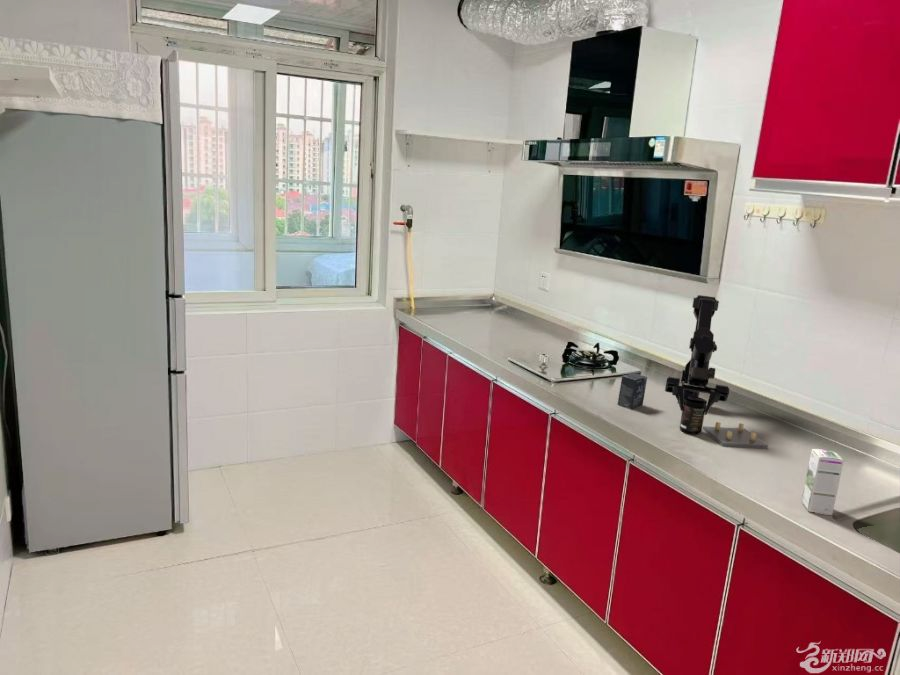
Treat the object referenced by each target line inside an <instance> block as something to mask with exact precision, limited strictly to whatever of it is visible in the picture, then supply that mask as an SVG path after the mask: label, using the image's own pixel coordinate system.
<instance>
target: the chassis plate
mask: <svg viewBox="0 0 900 675" xmlns="http://www.w3.org/2000/svg"><path fill="white" fill-rule="evenodd" d="M744 426H745V425H744V423H738V428H737V427H721V422H720V421H719V422H718V421H716V422H715V426H707V425H706V426H704V425H703V426H702V431H704V432H705V433H706V434H707V435H709V436H710V437H711V438H712V439H714V441H716V442H717V443H718V444H719V445H720V446H722V447H732V448H747V449H748V448H752V449H768V444H767V443H765V442H764V441H762V440H761V439H760V438H758V437H757V433H756V432H750V431H749V430H748V429H746V428H744Z"/></svg>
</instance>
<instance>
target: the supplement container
mask: <svg viewBox="0 0 900 675" xmlns="http://www.w3.org/2000/svg"><path fill="white" fill-rule="evenodd" d="M707 403H708V400H706V399H704V398H703V397H700V396H699V397H694V396H686V397H685V398H684V404H683V410H682V411H681V416H680V422H679V430H680V431H681V432H683V433H685V434H688V435H700V434H701V433H702V431H703V426H704V419H705V416H706V415H705V410H706V407H707Z"/></svg>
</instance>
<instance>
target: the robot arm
mask: <svg viewBox="0 0 900 675" xmlns="http://www.w3.org/2000/svg"><path fill="white" fill-rule="evenodd" d="M719 304H720V301H719V300H718V299H716V296H709V295H708V296H707V295H700V294H698V295H697V296H696V297H693V300H692V308H693V312H692V313H693V315H694V318H695V320H696V322H695V328H694V332H693V336H692V337H690V338H689V339H690V341H689V346H688V349H690V352H691V356H690V359H689V361H688V362H687V363H686V364H685V366H684V369H682V371H681V376H680V377H679V378H678V377H674V376H673V377H672V376H667V378H666V381H665V387H664V392H666V393H671V395H672V396H675V399H676V400H677V403H678V405H679V410H680V411H681V412H682V410H683V404H684V398H685V397H686V396H694V397H699V398H700V394H702V393H703V394H708V395H709V398H708V400H707V404H706V409H705V415H704V416H707V415H708V413H709V411H710V409H711V408H712V406H713V405H714V403H719V402H727V400H728V397H729V394H730V387H729V386H728V385H723V384H718V383H717V384H716V385H715V387H710V386H709V387H708V384H709V381H710V380H709V379H711V380H714V379H715V375H716V368H715V367H710V361H711V359H712V355H713V353H715V352H717V350H718V344H716V341H714V337H715V335H714V333H713V332H712V330H711V329H712V328H711V326H712V318H713V317H714V315H715V313H716V312H717V311H718V308H719Z"/></svg>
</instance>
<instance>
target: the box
mask: <svg viewBox="0 0 900 675" xmlns="http://www.w3.org/2000/svg"><path fill="white" fill-rule="evenodd" d="M647 382H648V376H645V375H641V374H638V373H635V372H633V373H630V374H625V375H622V376H621V382H620V386H619V387H620V388H619V392H618V393H619V394H618V399H617V400H618V401H617V405H618V406H621V407H624V408H627V409H630V410H632V409H636V408H638V407H641V406H643V405H644V400H645V392H646V388H647Z"/></svg>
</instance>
